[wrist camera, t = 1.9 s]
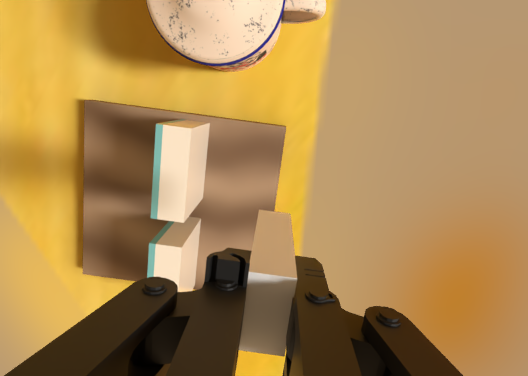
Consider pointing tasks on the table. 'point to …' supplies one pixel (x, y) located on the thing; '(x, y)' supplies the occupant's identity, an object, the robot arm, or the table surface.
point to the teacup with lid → (228, 28)
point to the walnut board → (141, 179)
